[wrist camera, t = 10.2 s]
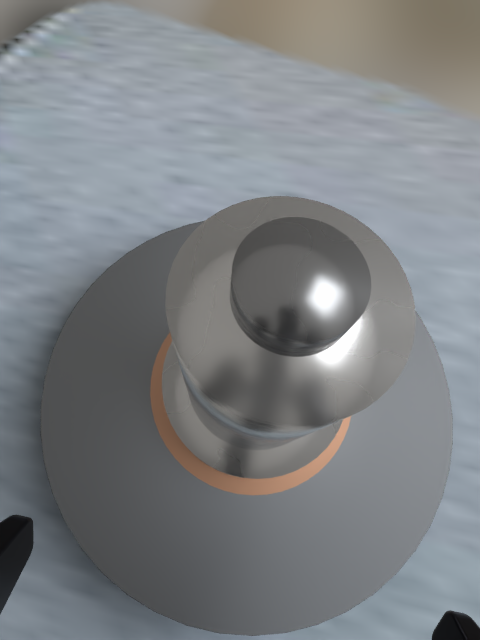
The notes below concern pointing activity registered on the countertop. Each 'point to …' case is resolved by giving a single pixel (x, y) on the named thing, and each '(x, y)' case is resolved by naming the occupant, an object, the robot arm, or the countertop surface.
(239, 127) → the countertop surface
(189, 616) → the turntable
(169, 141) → the countertop surface
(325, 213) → the cover
